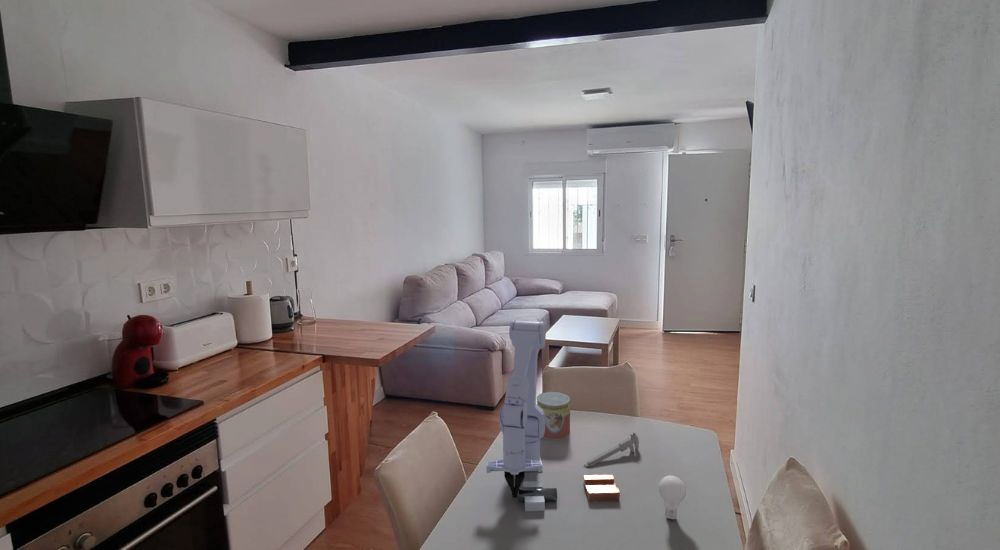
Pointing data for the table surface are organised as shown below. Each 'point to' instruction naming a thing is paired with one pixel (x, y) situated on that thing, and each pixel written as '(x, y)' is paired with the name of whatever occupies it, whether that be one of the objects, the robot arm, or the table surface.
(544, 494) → the axle
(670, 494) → the lightbulb
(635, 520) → the table surface
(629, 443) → the caliper
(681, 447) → the table surface
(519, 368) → the robot arm
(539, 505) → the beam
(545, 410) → the canned food
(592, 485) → the v block
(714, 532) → the table surface
